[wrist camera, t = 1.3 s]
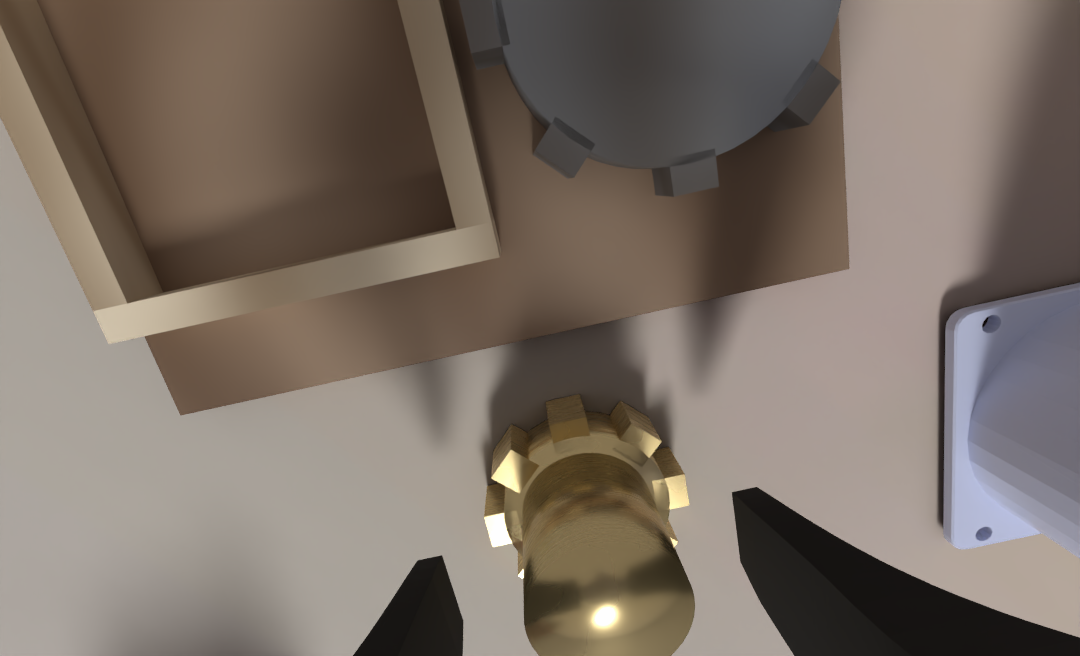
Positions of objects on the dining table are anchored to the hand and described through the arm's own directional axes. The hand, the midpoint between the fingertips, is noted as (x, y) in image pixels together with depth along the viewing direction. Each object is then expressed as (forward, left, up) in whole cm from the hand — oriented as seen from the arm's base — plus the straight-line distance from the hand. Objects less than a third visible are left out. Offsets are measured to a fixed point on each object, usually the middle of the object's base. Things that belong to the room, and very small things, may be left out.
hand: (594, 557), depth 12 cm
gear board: (+1, -12, -3) cm, 12 cm away
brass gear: (0, 0, -3) cm, 3 cm away
